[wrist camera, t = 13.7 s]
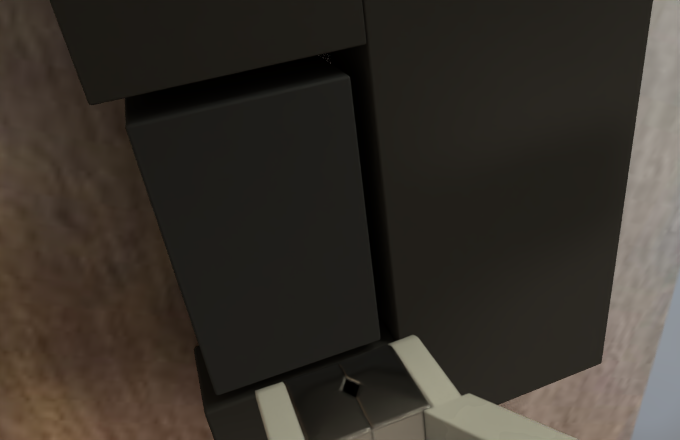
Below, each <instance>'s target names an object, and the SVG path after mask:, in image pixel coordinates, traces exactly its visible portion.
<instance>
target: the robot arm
mask: <svg viewBox="0 0 680 440" xmlns="http://www.w3.org/2000/svg"><path fill="white" fill-rule="evenodd" d="M255 394H256V400H257V403H258V407H259V410H260V414H261V417H262V421H263V424H264V428H265V431H266V435H267V438H268V440H578V439H576V438H574V437H571V436H569V435H567V434H564V433H562V432H560V431H557V430H555V429H553V428H550V427H548V426H545V425H543V424H541V423H538V422H536V421H534V420H531V419H529V418H527V417H524V416H522V415H520V414H517V413H515V412H512V411H510V410H508V409H505V408H503V407H501V406H498V405H496V404H494V403H491V402H489V401H487V400H484V399H482V398H480V397H477V396H475V395H472V394H470V393H468V394H466V395H463V396H461V394H460V393H459V392H458V390H457V389H456V388H455V386H454V385H453V384H452V382H451V381H450V380H449V378H448V377H447V376H446V374H445V373H444V372H443V370H442V369H441V367H440V366H439V365H438V363H437V362H436V361H435V359H434V358H433V357H432V355H431V354H430V353H429V351H428V350H427V349H426V347H425V346H424V344H423V343H422V342H421V340H420V339H419V338H418V337H417V336H415V335H411V336H408V337H406V338H403V339H400V340H398V341H395V342H392V343H389V344H388V345H384V346H381V347H379V348H376V349H373V350H370V351H368V352H365V353H362V354H360V355H357V356H354V357H351V358H349V359H346V360H343V361H340V362H338V363H336V364H333V365H330V366H327V367H324V368H321V369H318V370H315V371H312V372H309V373H306V374H303V375H300V376H297V377H294V378H291V379H287V380H284V383H283V382H281V383H277V384H274V385H271V386H268V387H265V388H262V389H259V390H256V391H255Z"/></svg>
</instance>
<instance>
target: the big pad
mask: <svg viewBox="0 0 680 440" xmlns="http://www.w3.org/2000/svg"><path fill="white" fill-rule="evenodd" d="M50 2H51V5H52V8H53V10H54V13H55V16H56V18H57V21H58V24H59V26H60V29H61V32H62V34H63V37H64V40H65V43H66V45H67V48H68V51H69V53H70V56H71V59H72V61H73V64H74V67H75V69H76V72H77V75H78V77H79V80H80V83H81V85H82V88H83V91H84V93H85V96H86V99H87V101H88V103H89V105H95V104H99V103H104V102H108V101H113V100H117V99H122V98H127V97H131V96H136V95H140V94H145V93H149V92H154V91H158V90H163V89H167V88H172V87H176V86H181V85H185V84H190V83H194V82H199V81H203V80H208V79H212V78H217V77H221V76H226V75H230V74H235V73H239V72H244V71H248V70H253V69H257V68H262V67H266V66H271V65H275V64H280V63H284V62H289V61H293V60H298V59H302V58H307V57H311V56H316V55H320V54H325V53H329V52H331V59H332V65H333V66H335V67H336V68H338V69H339V70H341V71H342V72H344V73H345V74H347V75H348V76H349V77H350V81H351V89H352V98H353V106H354V115H355V123H356V132H357V141H358V149H359V158H360V166H361V175H362V183H363V192H364V200H365V209H366V218H367V226H368V235H369V243H370V252H371V260H372V269H373V277H374V286H375V295H376V303H377V312H378V320H379V329H380V340H377V341H374V342H371V343H369V344H366V345H363V346H360V347H357V348H354V349H351V350H348V351H345V352H343V353H340V354H337V355H334V356H331V357H328V358H325V359H322V360H319V361H316V362H314V363H311V364H308V365H305V366H302V367H299V368H296V369H293V370H290V371H287V372H285V373H282V374H279V375H276V376H273V377H270V378H267V379H264V380H261V381H258V382H256V383H253V384H250V385H247V386H244V387H241V388H238V389H235V390H232V391H230V392H227V393H224V394H221V395H216V394H215V391H214V388H213V385H212V382H211V379H210V377H209V374H208V371H207V368H206V365H205V362H204V359H203V356H202V353H201V350H200V347H199V346H197V347H195V348H194V354H195V360H196V366H197V371H198V377H199V383H200V389H201V395H202V400H203V406H204V412H205V416H206V418H207V421H208V424H209V426H210V429H211V432H212V434H213V437H214V440H268V438H267V435H266V431H265V428H264V424H263V421H262V417H261V414H260V410H259V407H258V403H257V400H256V394H255V391H256V390H259V389H262V388H265V387H268V386H271V385H274V384H277V383H281V382H283V383H284V380H287V379H291V378H294V377H297V376H300V375H303V374H306V373H309V372H312V371H315V370H318V369H321V368H324V367H327V366H330V365H333V364H336V363H338V362H340V361H343V360H346V359H349V358H351V357H354V356H357V355H360V354H362V353H365V352H368V351H370V350H373V349H376V348H379V347H381V346H384V345H388V344H389V343H392V342H395V341H398V340H400V339H403V338H406V337H408V336H411V335H415V336H417V337H418V338H419V339H420V340H421V342H422V343H423V344H424V346H425V347H426V349H427V350H428V351H429V353H430V354H431V355H432V357H433V358H434V359H435V361H436V362H437V363H438V365H439V366H440V367H441V369H442V370H443V372H444V373H445V374H446V376H447V377H448V378H449V380H450V381H451V382H452V384H453V385H454V386H455V388H456V389H457V390H458V392H459V393H460V394H461V396H463V395H466V394H468V393H470V394H472V395H475V396H477V397H480V398H482V399H484V400H487V401H489V402H491V403H494V404H496V405H499V404H501V403H504V402H506V401H509V400H511V399H514V398H516V397H519V396H521V395H524V394H526V393H529V392H531V391H534V390H536V389H539V388H541V387H543V386H546V385H548V384H551V383H553V382H556V381H558V380H561V379H563V378H566V377H568V376H571V375H573V374H576V373H578V372H581V371H583V370H586V369H588V368H591V367H593V366H596V365H598V364H600V363H601V362H602V355H603V348H604V341H605V333H606V326H607V319H608V312H609V305H610V298H611V291H612V284H613V277H614V270H615V263H616V256H617V249H618V242H619V235H620V228H621V221H622V214H623V207H624V200H625V193H626V186H627V179H628V172H629V165H630V158H631V151H632V144H633V137H634V130H635V123H636V116H637V109H638V102H639V95H640V88H641V81H642V73H643V66H644V59H645V52H646V45H647V38H648V31H649V24H650V17H651V10H652V3H653V0H50Z"/></svg>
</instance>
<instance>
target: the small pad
mask: <svg viewBox="0 0 680 440" xmlns="http://www.w3.org/2000/svg"><path fill="white" fill-rule="evenodd" d="M125 120H126V131H127V134H128V137H129V140H130V143H131V146H132V149H133V152H134V155H135V158H136V160H137V163H138V166H139V169H140V172H141V175H142V178H143V181H144V184H145V187H146V190H147V193H148V196H149V199H150V202H151V205H152V208H153V211H154V214H155V217H156V220H157V223H158V226H159V229H160V231H161V234H162V237H163V240H164V243H165V246H166V249H167V252H168V255H169V258H170V261H171V264H172V267H173V270H174V273H175V276H176V279H177V282H178V285H179V288H180V291H181V294H182V297H183V300H184V303H185V305H186V308H187V311H188V314H189V317H190V320H191V323H192V326H193V329H194V332H195V335H196V338H197V341H198V344H199V347H200V350H201V353H202V356H203V359H204V362H205V365H206V368H207V371H208V374H209V377H210V379H211V382H212V385H213V388H214V391H215V394H216V395H221V394H224V393H227V392H230V391H232V390H235V389H238V388H241V387H244V386H247V385H250V384H253V383H256V382H258V381H261V380H264V379H267V378H270V377H273V376H276V375H279V374H282V373H285V372H287V371H290V370H293V369H296V368H299V367H302V366H305V365H308V364H311V363H314V362H316V361H319V360H322V359H325V358H328V357H331V356H334V355H337V354H340V353H343V352H345V351H348V350H351V349H354V348H357V347H360V346H363V345H366V344H369V343H371V342H374V341H377V340H380V329H379V320H378V312H377V303H376V295H375V286H374V277H373V269H372V260H371V252H370V243H369V235H368V226H367V218H366V209H365V200H364V192H363V183H362V175H361V166H360V158H359V149H358V141H357V132H356V123H355V115H354V106H353V98H352V89H351V81H350V77H349V76H348V75H347V74H345V73H344V72H342V71H341V70H339V69H338V68H336V67H335V66H333V65H332V64H330V63H329V62H327V61H325V60H324V59H322V58H321V57H319V56H318V55H316V56H311V57H307V58H302V59H298V60H293V61H289V62H284V63H280V64H275V65H271V66H266V67H262V68H257V69H253V70H248V71H244V72H239V73H235V74H230V75H226V76H221V77H217V78H212V79H208V80H203V81H199V82H194V83H190V84H185V85H181V86H176V87H172V88H167V89H163V90H158V91H154V92H149V93H145V94H140V95H136V96H131V97H127V98H125Z"/></svg>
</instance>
